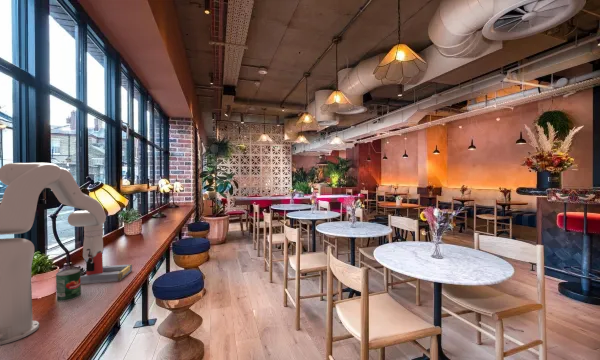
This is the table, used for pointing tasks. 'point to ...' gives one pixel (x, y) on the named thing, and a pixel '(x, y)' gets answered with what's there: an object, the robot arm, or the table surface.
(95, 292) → the table surface
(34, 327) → the robot arm
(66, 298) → the canned tomato
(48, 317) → the table surface
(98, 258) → the beer can
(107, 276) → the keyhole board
